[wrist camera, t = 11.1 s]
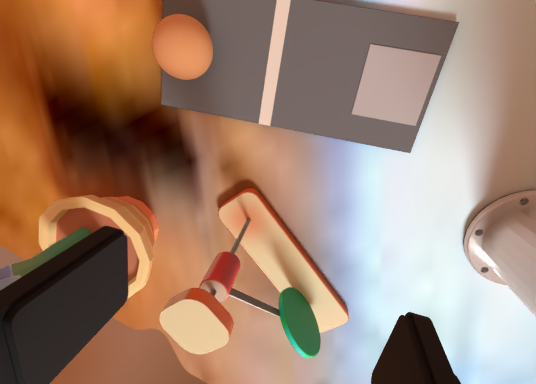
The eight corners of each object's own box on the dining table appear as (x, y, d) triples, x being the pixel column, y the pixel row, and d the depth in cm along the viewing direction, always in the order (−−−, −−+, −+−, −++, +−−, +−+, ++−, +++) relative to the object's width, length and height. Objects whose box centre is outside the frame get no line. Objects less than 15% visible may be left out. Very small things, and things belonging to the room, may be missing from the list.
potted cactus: (197, 249, 43) (59, 446, 20) (122, 275, 47) (-61, 460, 25) (142, 158, 39) (-114, 275, 16) (65, 196, 43) (-220, 329, 20)
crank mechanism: (216, 207, 40) (135, 311, 22) (253, 183, 37) (195, 277, 20) (314, 328, 45) (312, 490, 27) (352, 314, 43) (375, 479, 25)
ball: (223, 25, 30) (200, 12, 25) (218, 84, 33) (196, 84, 27) (172, 16, 31) (138, 2, 26) (170, 75, 33) (139, 73, 28)
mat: (456, 23, 28) (459, 22, 27) (408, 151, 33) (410, 153, 32) (165, -22, 30) (162, -24, 30) (163, 104, 35) (161, 104, 35)
